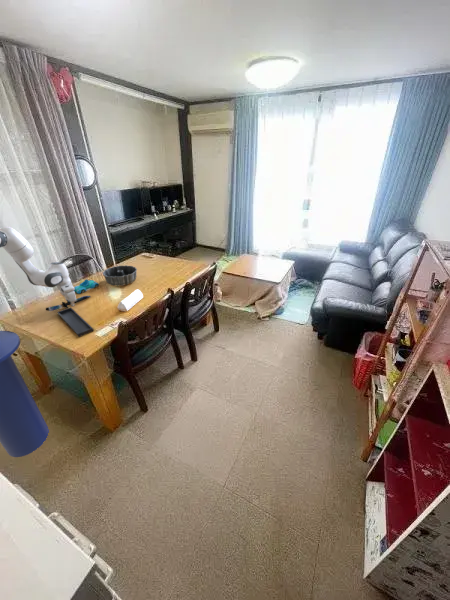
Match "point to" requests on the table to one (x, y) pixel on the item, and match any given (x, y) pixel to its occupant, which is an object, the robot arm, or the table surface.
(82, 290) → the toy car
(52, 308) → the knife
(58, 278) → the robot arm
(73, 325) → the knife tray
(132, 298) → the white triangular prism
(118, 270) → the bundt pan
